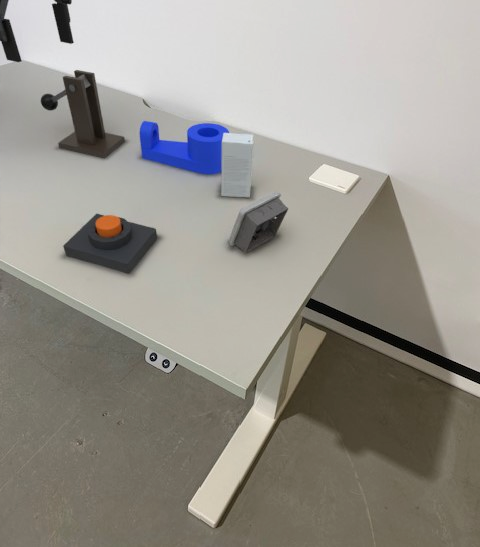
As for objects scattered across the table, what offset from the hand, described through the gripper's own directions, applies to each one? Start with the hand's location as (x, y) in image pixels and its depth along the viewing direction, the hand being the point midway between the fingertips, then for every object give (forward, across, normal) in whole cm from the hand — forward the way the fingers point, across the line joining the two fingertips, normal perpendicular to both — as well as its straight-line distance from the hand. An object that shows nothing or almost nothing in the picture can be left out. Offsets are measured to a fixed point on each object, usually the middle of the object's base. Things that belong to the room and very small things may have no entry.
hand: (42, 51), depth 79 cm
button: (+19, -21, -27) cm, 39 cm away
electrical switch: (+23, -8, -49) cm, 55 cm away
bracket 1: (+22, +8, 0) cm, 23 cm away
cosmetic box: (+23, +5, -39) cm, 45 cm away
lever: (+12, +7, +4) cm, 15 cm away
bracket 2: (+23, +12, -23) cm, 34 cm away
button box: (+22, -21, -27) cm, 41 cm away
